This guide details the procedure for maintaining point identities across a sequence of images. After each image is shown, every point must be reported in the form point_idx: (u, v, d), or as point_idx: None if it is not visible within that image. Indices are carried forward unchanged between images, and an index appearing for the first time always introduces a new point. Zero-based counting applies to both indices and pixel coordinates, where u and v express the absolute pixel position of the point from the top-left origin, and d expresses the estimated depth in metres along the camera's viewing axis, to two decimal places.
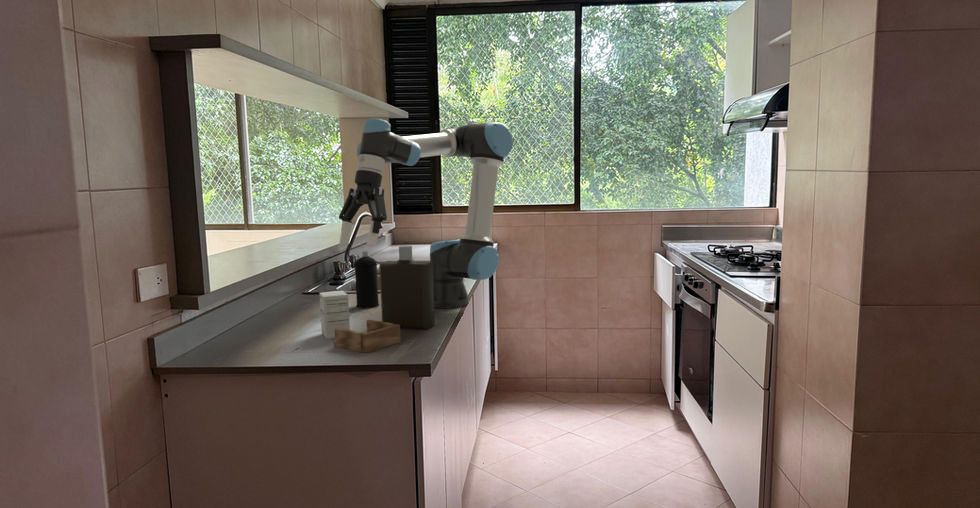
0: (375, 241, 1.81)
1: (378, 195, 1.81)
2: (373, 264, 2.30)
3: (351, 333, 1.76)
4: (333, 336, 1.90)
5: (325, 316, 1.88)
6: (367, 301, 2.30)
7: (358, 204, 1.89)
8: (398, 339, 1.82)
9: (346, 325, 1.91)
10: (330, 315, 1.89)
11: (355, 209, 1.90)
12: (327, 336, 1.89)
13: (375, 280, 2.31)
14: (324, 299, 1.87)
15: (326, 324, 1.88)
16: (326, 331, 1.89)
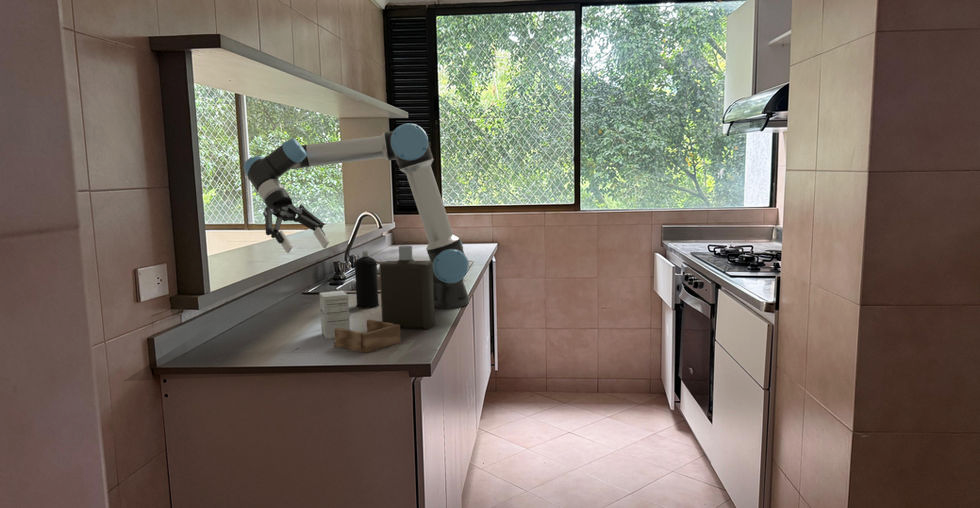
0: (287, 245, 1.90)
1: (265, 217, 1.95)
2: (373, 264, 2.30)
3: (351, 333, 1.76)
4: (333, 336, 1.90)
5: (325, 316, 1.88)
6: (367, 301, 2.30)
7: (298, 218, 2.02)
8: (398, 339, 1.82)
9: (346, 325, 1.91)
10: (330, 315, 1.89)
11: (304, 221, 2.03)
12: (327, 336, 1.89)
13: (375, 280, 2.31)
14: (324, 299, 1.87)
15: (326, 324, 1.88)
16: (326, 331, 1.89)
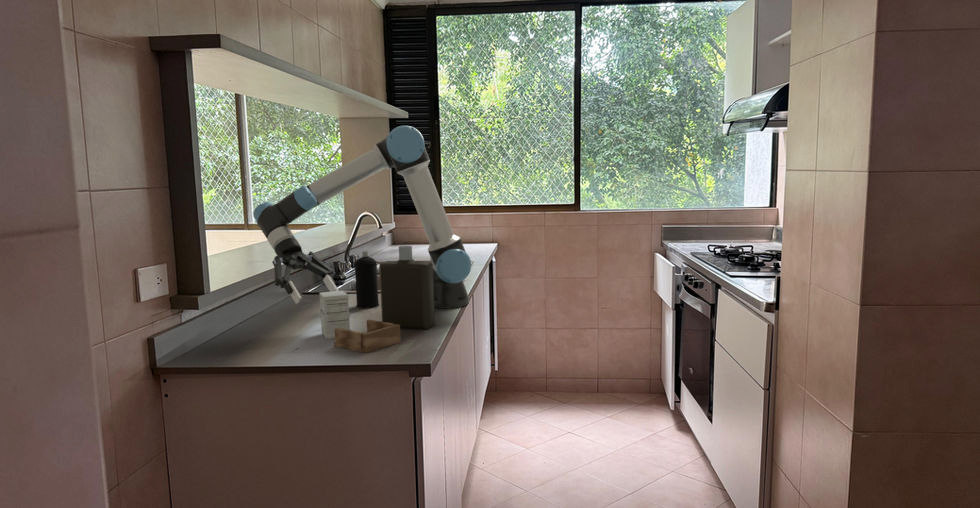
0: (297, 296, 1.89)
1: (275, 266, 1.95)
2: (373, 264, 2.30)
3: (351, 333, 1.76)
4: (333, 336, 1.90)
5: (325, 316, 1.88)
6: (367, 301, 2.30)
7: (307, 265, 2.01)
8: (398, 339, 1.82)
9: (346, 325, 1.91)
10: (330, 315, 1.89)
11: (313, 268, 2.02)
12: (327, 336, 1.89)
13: (375, 280, 2.31)
14: (324, 299, 1.87)
15: (326, 324, 1.88)
16: (326, 331, 1.89)
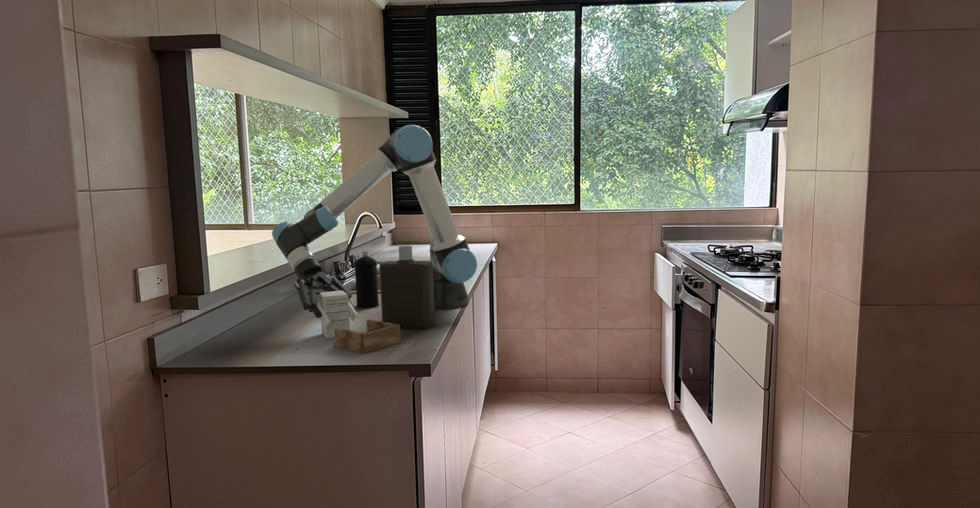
0: (326, 320, 1.87)
1: (298, 289, 1.91)
2: (373, 264, 2.30)
3: (351, 333, 1.76)
4: (333, 336, 1.90)
5: None
6: (367, 301, 2.30)
7: (327, 287, 1.97)
8: (398, 339, 1.82)
9: (346, 324, 1.91)
10: (330, 315, 1.89)
11: None
12: (327, 336, 1.89)
13: (375, 280, 2.31)
14: (324, 299, 1.87)
15: None
16: (326, 331, 1.89)
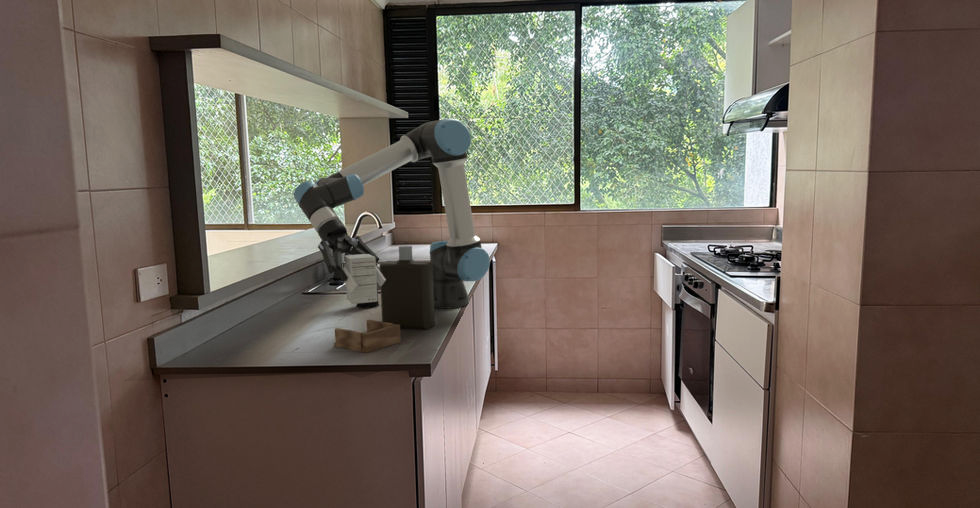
0: (352, 283, 1.74)
1: (322, 251, 1.78)
2: None
3: (351, 333, 1.76)
4: (359, 301, 1.77)
5: None
6: None
7: (352, 250, 1.85)
8: (398, 339, 1.82)
9: (373, 289, 1.78)
10: (357, 278, 1.76)
11: (358, 254, 1.85)
12: (353, 301, 1.76)
13: None
14: (350, 261, 1.75)
15: None
16: (352, 296, 1.76)
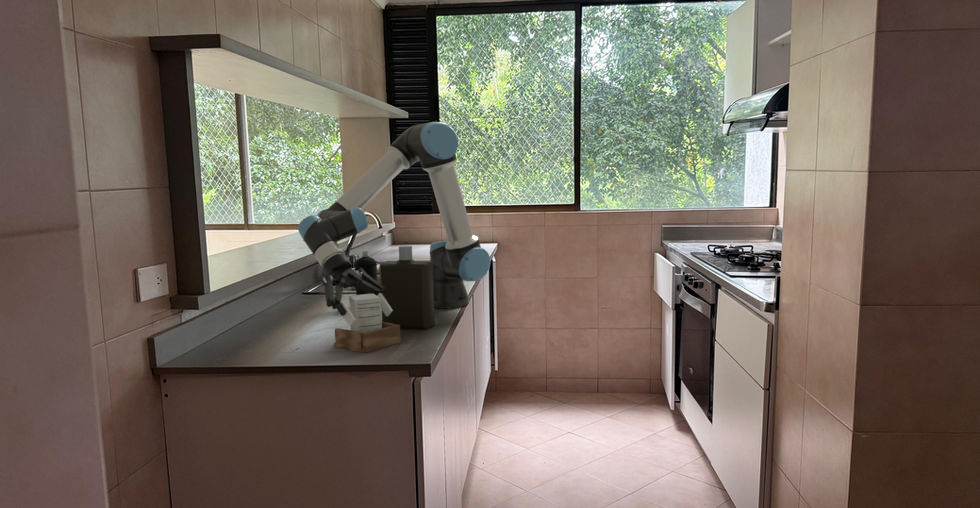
0: (351, 318, 1.74)
1: (325, 285, 1.79)
2: (373, 264, 2.30)
3: (351, 333, 1.76)
4: None
5: (356, 321, 1.76)
6: None
7: (358, 283, 1.86)
8: (398, 339, 1.82)
9: None
10: (362, 320, 1.77)
11: (365, 287, 1.86)
12: None
13: None
14: (356, 303, 1.76)
15: (357, 329, 1.77)
16: None
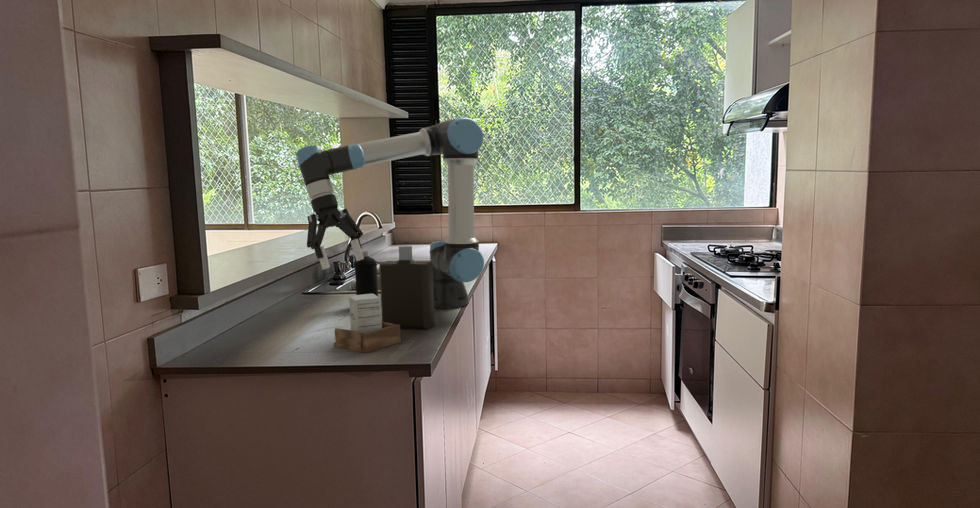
0: (326, 264, 1.89)
1: (309, 223, 1.90)
2: (373, 264, 2.30)
3: (351, 333, 1.76)
4: None
5: (356, 321, 1.76)
6: None
7: (339, 225, 1.97)
8: (398, 339, 1.82)
9: None
10: (362, 320, 1.77)
11: (344, 229, 1.98)
12: None
13: (375, 280, 2.31)
14: (355, 303, 1.76)
15: (357, 329, 1.77)
16: None
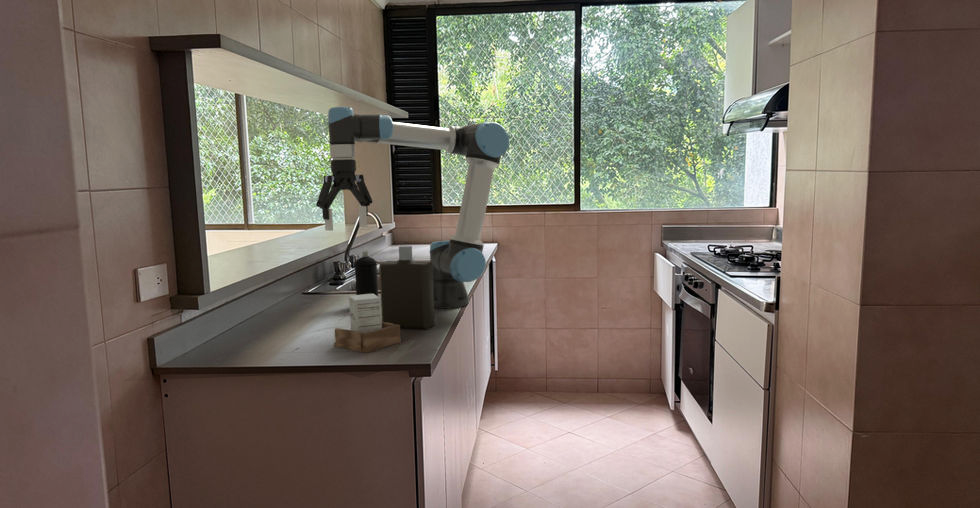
0: (329, 226, 1.94)
1: (324, 183, 1.93)
2: (373, 264, 2.30)
3: (351, 333, 1.76)
4: None
5: (356, 321, 1.76)
6: None
7: (352, 189, 2.01)
8: (398, 339, 1.82)
9: None
10: (362, 320, 1.77)
11: (356, 194, 2.02)
12: None
13: (375, 280, 2.31)
14: (355, 303, 1.76)
15: (357, 329, 1.77)
16: None
